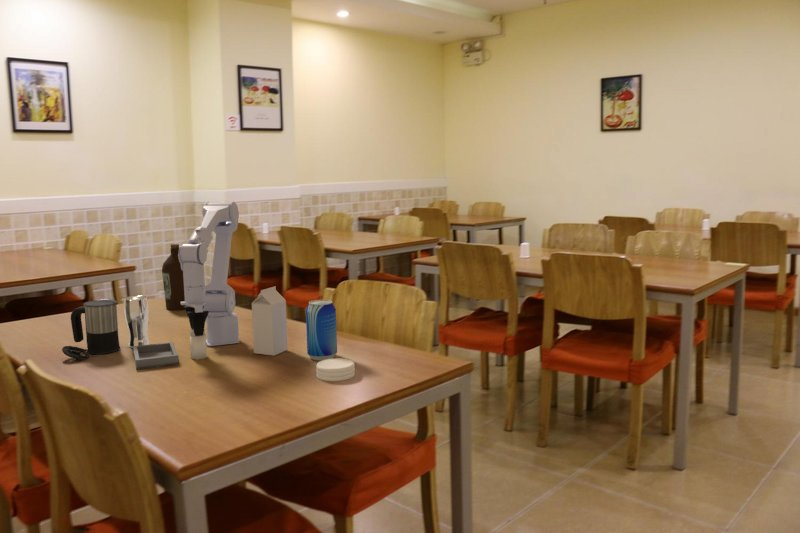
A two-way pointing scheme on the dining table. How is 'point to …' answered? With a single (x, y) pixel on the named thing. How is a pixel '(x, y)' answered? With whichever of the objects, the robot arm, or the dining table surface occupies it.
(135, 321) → the beer glass
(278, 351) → the milk carton
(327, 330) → the beer can
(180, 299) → the olive oil
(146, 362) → the tray
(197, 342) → the salt shaker
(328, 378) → the white round container
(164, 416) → the dining table surface
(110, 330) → the milk frother
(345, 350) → the dining table surface
